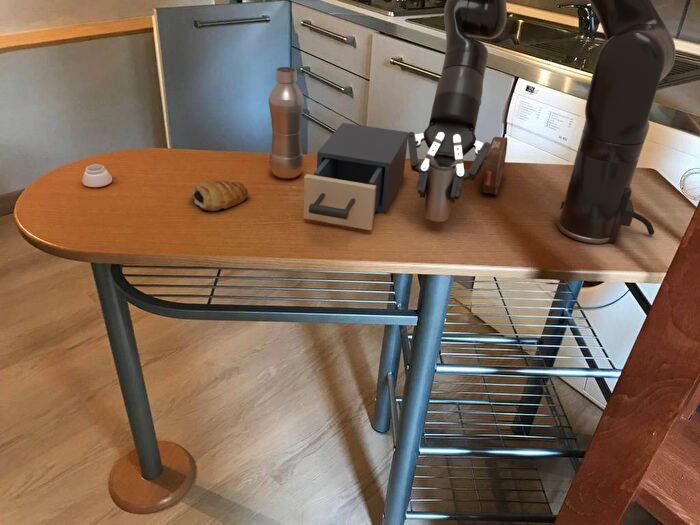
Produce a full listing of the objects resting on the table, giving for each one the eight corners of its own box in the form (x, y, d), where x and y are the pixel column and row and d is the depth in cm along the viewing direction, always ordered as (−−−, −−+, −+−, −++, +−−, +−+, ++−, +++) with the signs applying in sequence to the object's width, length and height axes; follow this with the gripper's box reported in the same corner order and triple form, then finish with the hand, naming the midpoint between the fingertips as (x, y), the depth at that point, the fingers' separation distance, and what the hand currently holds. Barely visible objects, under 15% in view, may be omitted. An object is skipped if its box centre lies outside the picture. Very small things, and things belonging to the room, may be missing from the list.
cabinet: (385, 213, 107) (390, 163, 102) (315, 201, 110) (317, 151, 105) (403, 178, 120) (408, 132, 115) (340, 167, 123) (342, 122, 118)
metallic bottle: (306, 169, 121) (307, 66, 110) (300, 184, 115) (301, 76, 105) (273, 166, 121) (272, 63, 111) (266, 181, 116) (263, 73, 105)
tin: (494, 202, 113) (502, 159, 109) (477, 198, 114) (484, 156, 110) (504, 171, 126) (512, 132, 121) (488, 169, 126) (496, 129, 122)
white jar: (78, 181, 111) (88, 191, 108) (75, 165, 110) (85, 175, 107) (106, 175, 114) (116, 185, 111) (104, 160, 113) (114, 169, 109)
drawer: (362, 248, 95) (365, 204, 91) (291, 234, 97) (291, 191, 93) (390, 193, 112) (394, 155, 108) (329, 183, 114) (330, 145, 110)
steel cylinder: (450, 212, 103) (458, 158, 98) (447, 223, 100) (454, 168, 95) (425, 207, 104) (431, 154, 99) (420, 219, 101) (427, 164, 96)
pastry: (236, 188, 112) (235, 168, 110) (255, 202, 108) (255, 182, 106) (188, 200, 107) (186, 180, 105) (207, 216, 103) (205, 195, 101)
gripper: (413, 84, 100) (391, 183, 96) (502, 95, 97) (483, 197, 93) (415, 107, 107) (395, 199, 103) (499, 118, 104) (481, 213, 100)
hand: (437, 198), depth 98 cm, fingers closed on steel cylinder, 4 cm apart
